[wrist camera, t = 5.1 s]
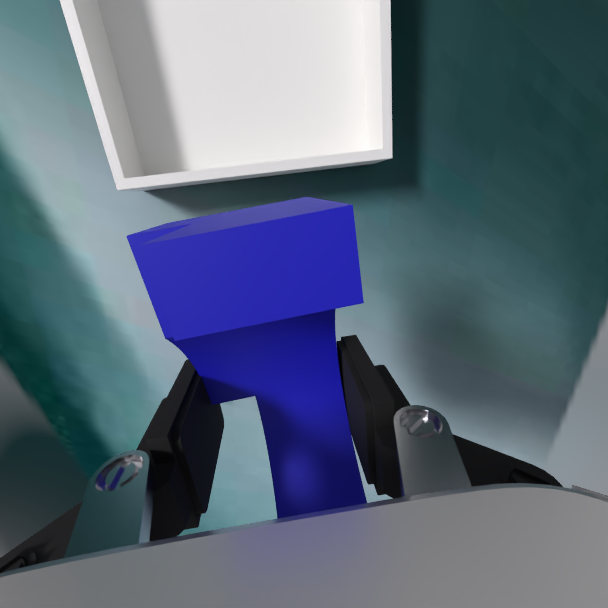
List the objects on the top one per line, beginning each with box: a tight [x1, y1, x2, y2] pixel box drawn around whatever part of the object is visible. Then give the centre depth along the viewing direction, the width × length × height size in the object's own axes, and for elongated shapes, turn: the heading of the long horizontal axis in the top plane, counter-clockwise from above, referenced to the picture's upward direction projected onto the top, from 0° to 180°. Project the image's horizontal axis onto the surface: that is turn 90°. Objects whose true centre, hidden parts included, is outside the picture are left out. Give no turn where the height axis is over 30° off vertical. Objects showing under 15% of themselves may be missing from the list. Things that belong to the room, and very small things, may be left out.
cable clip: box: [127, 197, 367, 519], centre depth 9 cm, size 12×4×6 cm, turn 10°
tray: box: [60, 0, 392, 191], centre depth 18 cm, size 17×17×4 cm
